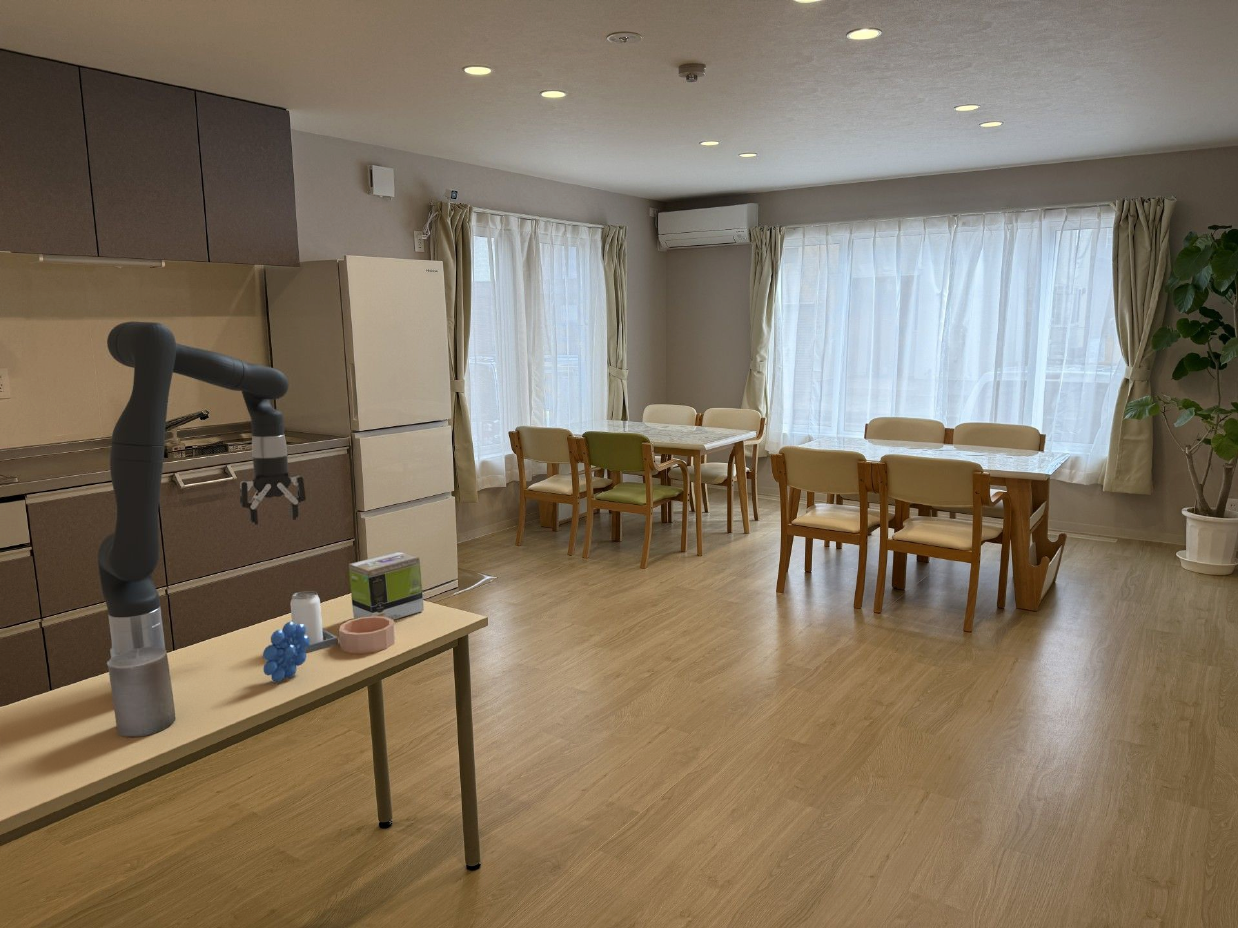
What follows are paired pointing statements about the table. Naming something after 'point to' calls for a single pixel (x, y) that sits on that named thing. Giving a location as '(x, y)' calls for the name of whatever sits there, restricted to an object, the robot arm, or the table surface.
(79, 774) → the table surface
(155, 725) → the pillar candle
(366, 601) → the tea box
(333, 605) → the table surface
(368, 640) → the bowl
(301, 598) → the can
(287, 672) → the blue lumpy cluster
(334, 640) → the tray
